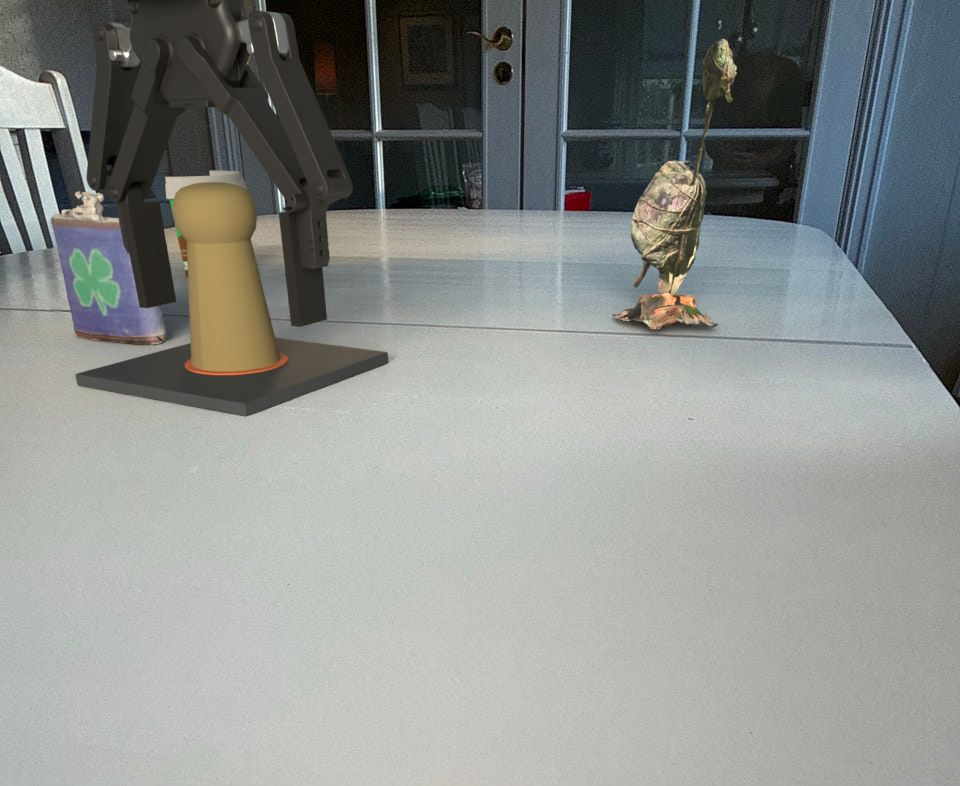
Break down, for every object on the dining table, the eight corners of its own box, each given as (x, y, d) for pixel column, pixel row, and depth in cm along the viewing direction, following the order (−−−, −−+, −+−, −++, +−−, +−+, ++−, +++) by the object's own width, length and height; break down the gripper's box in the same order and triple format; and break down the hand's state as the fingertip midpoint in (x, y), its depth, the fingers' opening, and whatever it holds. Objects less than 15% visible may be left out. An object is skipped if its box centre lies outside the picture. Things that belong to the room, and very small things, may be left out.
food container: (233, 280, 98) (218, 177, 93) (180, 279, 98) (162, 177, 93) (273, 263, 108) (262, 170, 103) (224, 262, 109) (211, 170, 104)
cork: (255, 346, 66) (233, 178, 60) (296, 361, 62) (276, 182, 56) (176, 359, 62) (145, 183, 57) (214, 376, 58) (185, 187, 53)
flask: (174, 340, 72) (147, 191, 67) (147, 347, 70) (117, 194, 64) (92, 330, 76) (60, 188, 70) (64, 337, 73) (29, 191, 68)
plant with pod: (693, 309, 81) (722, 45, 71) (725, 336, 71) (763, 34, 61) (604, 311, 81) (620, 46, 71) (624, 338, 71) (645, 35, 61)
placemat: (77, 385, 60) (73, 372, 60) (233, 341, 71) (232, 330, 71) (245, 416, 54) (243, 401, 53) (389, 363, 65) (388, 350, 64)
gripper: (397, -101, 47) (415, 320, 58) (77, -58, 58) (143, 290, 69) (305, -129, 42) (344, 343, 52) (-30, -76, 52) (60, 306, 63)
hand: (230, 314), depth 61 cm, fingers open, 13 cm apart
